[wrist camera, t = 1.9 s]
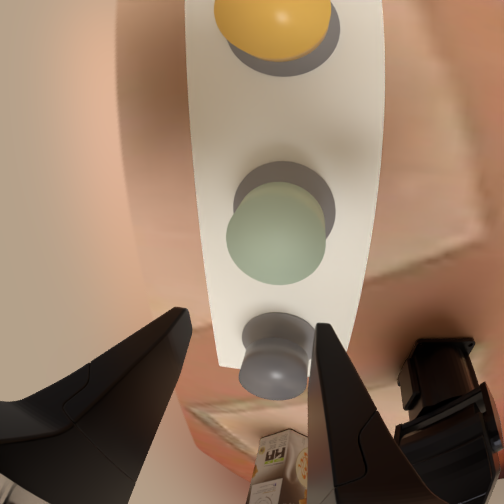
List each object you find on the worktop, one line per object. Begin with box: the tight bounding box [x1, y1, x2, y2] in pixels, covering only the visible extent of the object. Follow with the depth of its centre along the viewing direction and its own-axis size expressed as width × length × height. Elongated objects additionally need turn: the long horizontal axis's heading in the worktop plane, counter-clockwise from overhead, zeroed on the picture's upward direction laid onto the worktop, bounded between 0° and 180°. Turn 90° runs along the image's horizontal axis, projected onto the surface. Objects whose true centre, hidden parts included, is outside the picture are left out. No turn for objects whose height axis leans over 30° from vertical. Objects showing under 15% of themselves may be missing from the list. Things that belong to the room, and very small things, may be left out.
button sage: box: [226, 182, 326, 285], centre depth 14 cm, size 4×4×2 cm
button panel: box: [185, 0, 385, 377], centre depth 18 cm, size 10×28×3 cm, turn 2°
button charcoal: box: [239, 337, 309, 400], centre depth 19 cm, size 4×4×2 cm
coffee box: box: [246, 429, 308, 504], centre depth 29 cm, size 9×6×16 cm
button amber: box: [214, 0, 331, 62], centre depth 9 cm, size 4×4×2 cm
